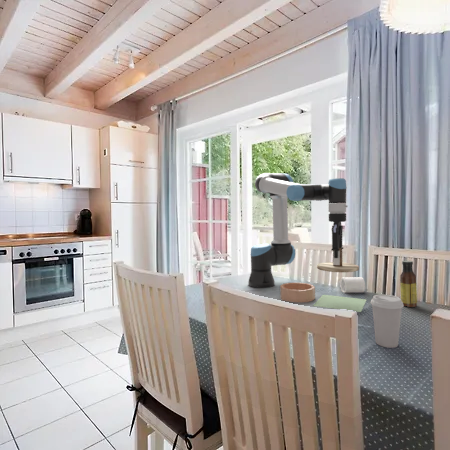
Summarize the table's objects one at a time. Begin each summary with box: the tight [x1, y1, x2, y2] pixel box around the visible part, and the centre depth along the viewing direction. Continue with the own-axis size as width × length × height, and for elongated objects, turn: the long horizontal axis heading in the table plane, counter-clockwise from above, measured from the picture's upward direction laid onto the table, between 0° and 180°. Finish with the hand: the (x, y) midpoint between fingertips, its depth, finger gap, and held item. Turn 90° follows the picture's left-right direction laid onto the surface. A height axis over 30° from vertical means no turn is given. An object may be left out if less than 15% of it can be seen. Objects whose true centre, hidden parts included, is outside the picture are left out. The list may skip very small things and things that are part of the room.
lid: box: [316, 248, 360, 273], centre depth 145 cm, size 18×18×9 cm
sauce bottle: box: [399, 260, 418, 308], centre depth 140 cm, size 6×6×20 cm
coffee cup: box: [370, 294, 405, 349], centre depth 102 cm, size 10×10×15 cm
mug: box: [339, 276, 366, 294], centre depth 165 cm, size 12×10×8 cm
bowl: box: [279, 281, 316, 303], centre depth 155 cm, size 16×16×6 cm
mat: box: [312, 294, 367, 313], centre depth 145 cm, size 20×20×1 cm
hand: (337, 263), depth 145 cm, fingers closed on lid, 4 cm apart
